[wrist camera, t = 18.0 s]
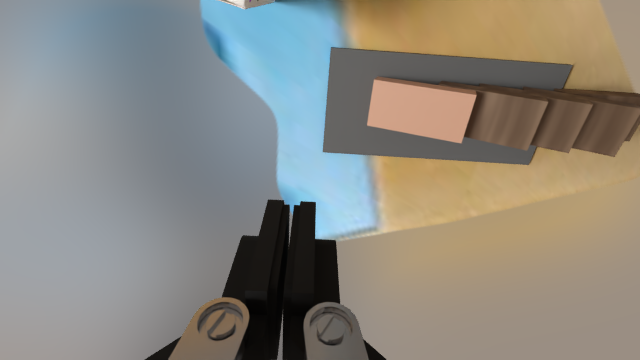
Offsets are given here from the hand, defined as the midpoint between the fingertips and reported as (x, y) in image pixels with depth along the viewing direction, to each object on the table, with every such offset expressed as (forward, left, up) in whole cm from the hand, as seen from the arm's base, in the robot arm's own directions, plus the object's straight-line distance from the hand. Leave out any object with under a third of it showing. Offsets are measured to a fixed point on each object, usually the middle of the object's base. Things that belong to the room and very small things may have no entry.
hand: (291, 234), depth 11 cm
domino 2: (+2, +14, -26) cm, 29 cm away
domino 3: (+2, +18, -26) cm, 32 cm away
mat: (+3, +15, -27) cm, 31 cm away
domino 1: (+2, +7, -26) cm, 27 cm away
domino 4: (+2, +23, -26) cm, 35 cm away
